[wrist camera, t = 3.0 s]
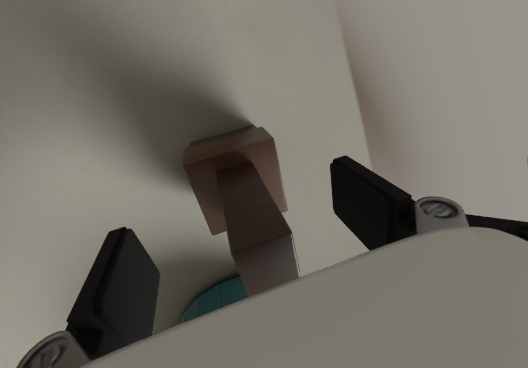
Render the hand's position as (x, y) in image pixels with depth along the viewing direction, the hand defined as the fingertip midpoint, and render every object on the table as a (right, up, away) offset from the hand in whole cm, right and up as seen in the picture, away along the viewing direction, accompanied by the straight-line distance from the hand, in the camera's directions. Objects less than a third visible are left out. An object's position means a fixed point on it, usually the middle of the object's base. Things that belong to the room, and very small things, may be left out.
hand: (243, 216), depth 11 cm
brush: (-1, +3, +6) cm, 7 cm away
